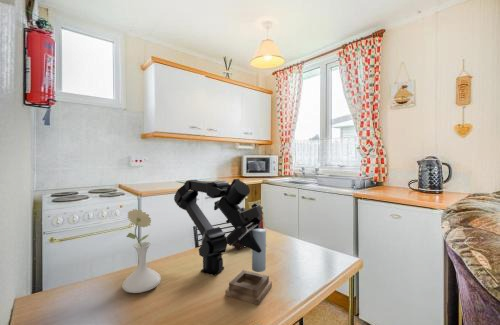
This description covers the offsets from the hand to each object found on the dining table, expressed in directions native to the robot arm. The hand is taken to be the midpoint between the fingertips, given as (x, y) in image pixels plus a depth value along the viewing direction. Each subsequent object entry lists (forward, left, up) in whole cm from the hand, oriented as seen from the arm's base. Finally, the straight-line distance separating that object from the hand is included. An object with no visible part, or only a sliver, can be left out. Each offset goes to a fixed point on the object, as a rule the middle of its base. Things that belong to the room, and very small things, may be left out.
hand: (263, 249), depth 76 cm
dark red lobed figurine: (-23, +26, -13) cm, 36 cm away
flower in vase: (-36, -16, -13) cm, 42 cm away
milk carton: (-21, +43, -13) cm, 49 cm away
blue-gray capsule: (-1, 0, -7) cm, 7 cm away
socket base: (-3, -3, -12) cm, 13 cm away
